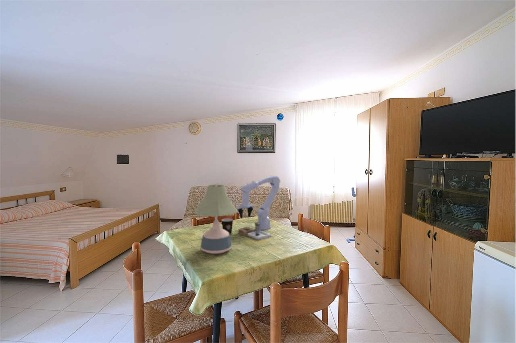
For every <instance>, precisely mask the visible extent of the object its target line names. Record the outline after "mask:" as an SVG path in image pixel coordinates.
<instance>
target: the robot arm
mask: <svg viewBox="0 0 516 343" xmlns="http://www.w3.org/2000/svg"><path fill="white" fill-rule="evenodd" d="M267 183H269V184H270V186H271V189H270V191H269V193H268V195H267V197H266V199H265V200H264V202H263V204H262V205H261V206H260V207H259V208H258V209H257V211H256V214H257V222H259V223H260V231H264V230H268V229H271V220H270V217H269V212H270V207H271V205H272V203H273V201H274V200H275V197H276V196H277V194H278V192H279V190H280V183H281V180H280V178H279V177H278V176H275V175H269V176H266V177H265V178H262V179H261V180H258V181H256V180H252V181H251V182H249V183H246V184H243V185H241V188H240V190H241V205H238V206H236V209H237V211H238V214H239V218H240V219H243V216H244V214H243V213H244V209H246V210H247V218H248V217H249V218H250V217H252V216H251V215H252V213H253V211H254V204H250V193H251V191H253V190H255V189H258V188H259V186H261V185H263V184H267Z"/></svg>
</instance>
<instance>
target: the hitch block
mask: <svg viewBox="0 0 516 343" xmlns="http://www.w3.org/2000/svg"><path fill="white" fill-rule="evenodd" d="M251 232H255V228H253V227H250V226H247V227H241V228H238V230H237V234H239V235H241V236H244V237H246V236H247V237H248V233H251Z"/></svg>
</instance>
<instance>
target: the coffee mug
mask: <svg viewBox="0 0 516 343" xmlns="http://www.w3.org/2000/svg"><path fill="white" fill-rule="evenodd" d="M219 222H220V221H219ZM233 223H234V219H232V218H223V219H221V222H220V225H221V226H222V227H221V228H222V229H224V230H225V231H227V232H229V234H232V232H233Z"/></svg>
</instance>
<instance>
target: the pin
mask: <svg viewBox="0 0 516 343" xmlns="http://www.w3.org/2000/svg"><path fill="white" fill-rule="evenodd" d="M254 225H255V226H254V229H255V235H256V236H259V235H260V231H261V230H260V223H259V222H258V221H256V222H254Z"/></svg>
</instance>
